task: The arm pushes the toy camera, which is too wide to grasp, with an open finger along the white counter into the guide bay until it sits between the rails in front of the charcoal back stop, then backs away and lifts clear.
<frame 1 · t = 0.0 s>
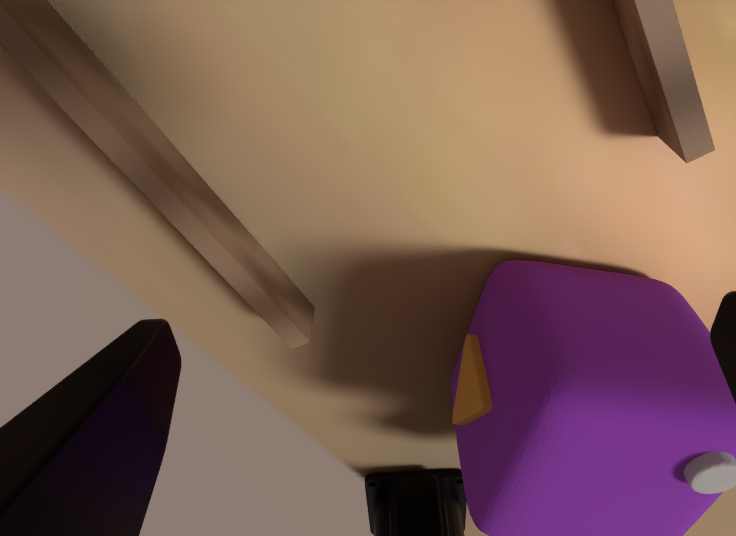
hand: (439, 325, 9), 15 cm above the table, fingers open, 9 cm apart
toy camera: (542, 350, 30), on the table
guide bay: (376, 79, 21), on the table
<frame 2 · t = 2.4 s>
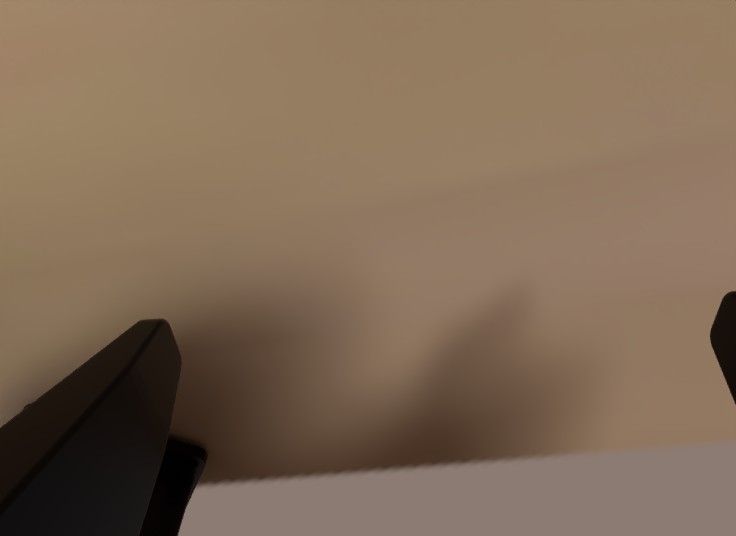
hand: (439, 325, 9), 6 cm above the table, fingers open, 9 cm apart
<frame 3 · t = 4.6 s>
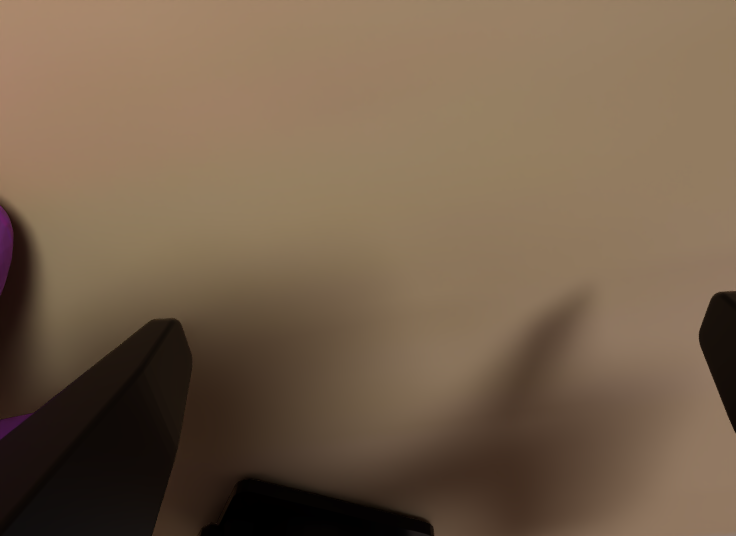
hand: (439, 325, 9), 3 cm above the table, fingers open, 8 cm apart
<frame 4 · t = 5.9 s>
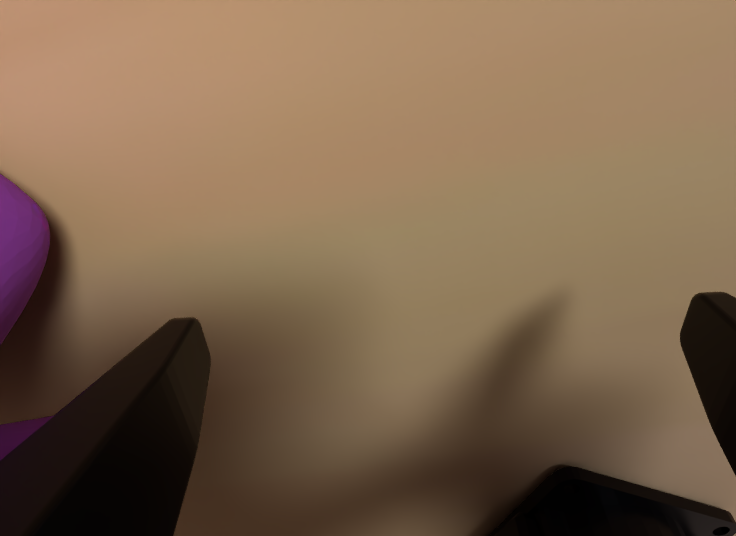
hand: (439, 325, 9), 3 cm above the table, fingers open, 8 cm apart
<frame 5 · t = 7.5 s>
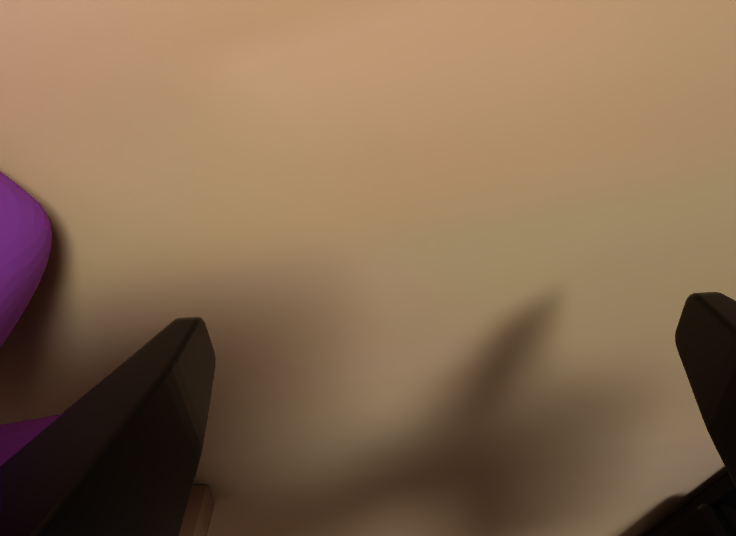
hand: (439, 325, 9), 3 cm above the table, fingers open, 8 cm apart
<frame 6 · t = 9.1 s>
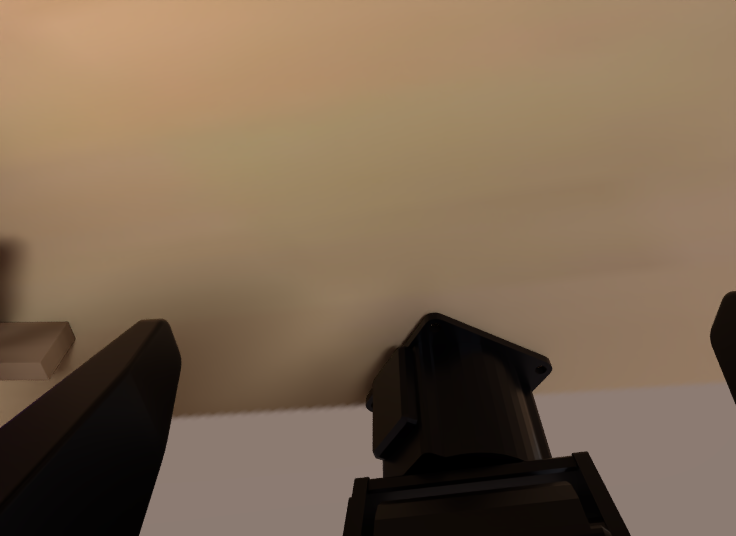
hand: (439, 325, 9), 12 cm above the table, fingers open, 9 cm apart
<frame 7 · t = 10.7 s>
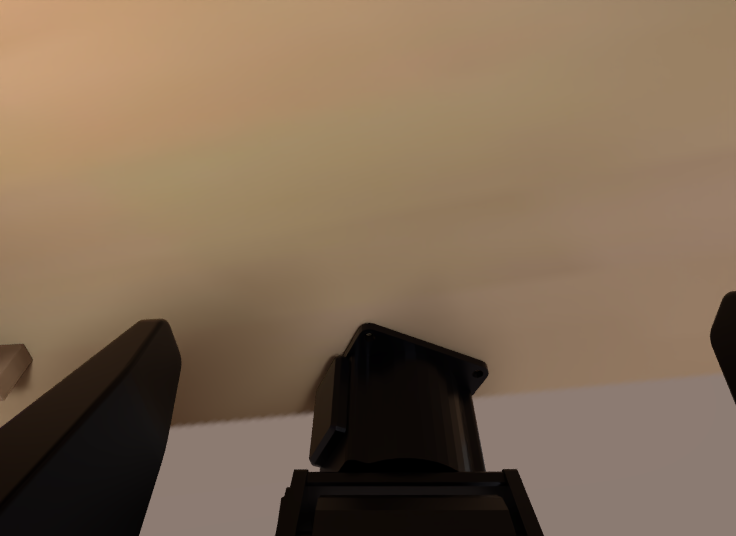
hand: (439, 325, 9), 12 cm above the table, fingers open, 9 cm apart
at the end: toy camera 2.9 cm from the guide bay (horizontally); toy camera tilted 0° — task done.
